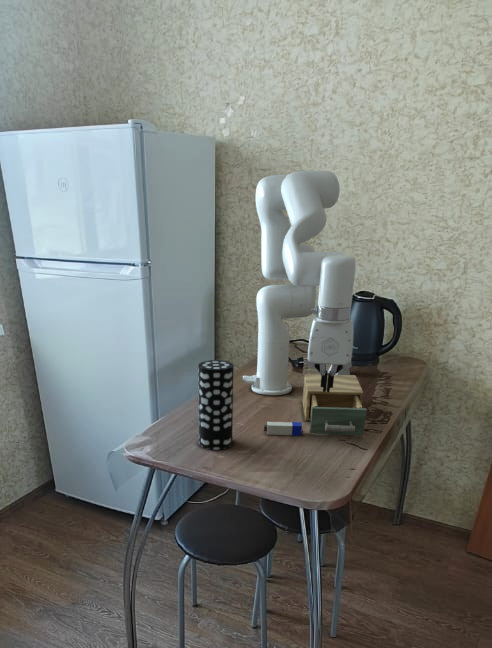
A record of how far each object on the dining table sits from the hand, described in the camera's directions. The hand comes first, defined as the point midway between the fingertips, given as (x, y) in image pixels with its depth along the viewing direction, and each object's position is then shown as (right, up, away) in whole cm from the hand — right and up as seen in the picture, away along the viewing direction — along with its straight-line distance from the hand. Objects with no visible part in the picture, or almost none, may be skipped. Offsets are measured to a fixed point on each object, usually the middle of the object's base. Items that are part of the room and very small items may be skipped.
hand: (326, 390), depth 141 cm
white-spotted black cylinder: (-27, -13, +4) cm, 30 cm away
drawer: (+4, -8, +10) cm, 14 cm away
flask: (+16, +14, +56) cm, 60 cm away
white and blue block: (-9, -10, +9) cm, 16 cm away
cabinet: (+6, -3, +23) cm, 24 cm away
